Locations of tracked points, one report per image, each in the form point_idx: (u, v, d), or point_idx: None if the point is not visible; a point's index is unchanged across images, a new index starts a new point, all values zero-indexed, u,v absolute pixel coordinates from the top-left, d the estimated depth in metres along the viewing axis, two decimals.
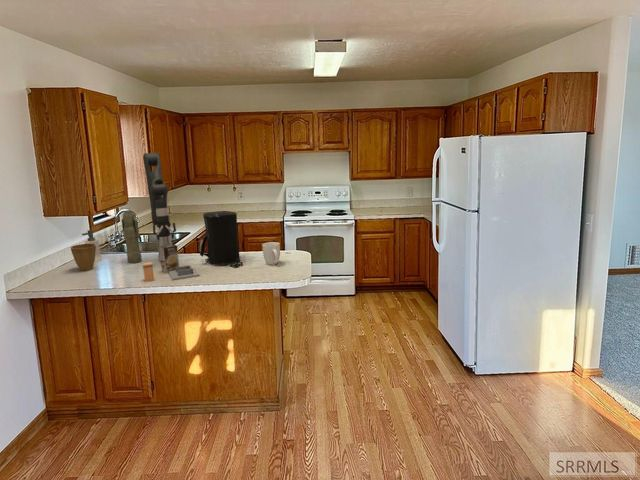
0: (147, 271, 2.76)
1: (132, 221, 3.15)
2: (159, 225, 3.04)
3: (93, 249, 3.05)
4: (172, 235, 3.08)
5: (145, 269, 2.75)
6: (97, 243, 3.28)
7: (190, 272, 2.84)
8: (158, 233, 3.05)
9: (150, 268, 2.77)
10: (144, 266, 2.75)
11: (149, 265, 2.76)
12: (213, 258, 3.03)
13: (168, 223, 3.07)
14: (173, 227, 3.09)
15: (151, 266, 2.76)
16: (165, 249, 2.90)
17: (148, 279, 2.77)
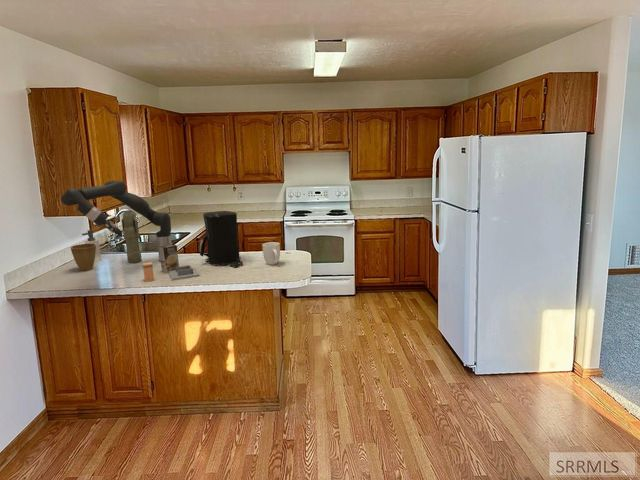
0: (147, 271, 2.76)
1: (132, 221, 3.15)
2: None
3: (93, 249, 3.05)
4: None
5: (145, 269, 2.75)
6: (97, 243, 3.28)
7: (190, 272, 2.84)
8: None
9: (150, 268, 2.77)
10: (144, 266, 2.75)
11: (149, 265, 2.76)
12: (213, 258, 3.03)
13: (104, 224, 2.61)
14: None
15: (151, 266, 2.76)
16: (165, 249, 2.90)
17: (148, 279, 2.77)
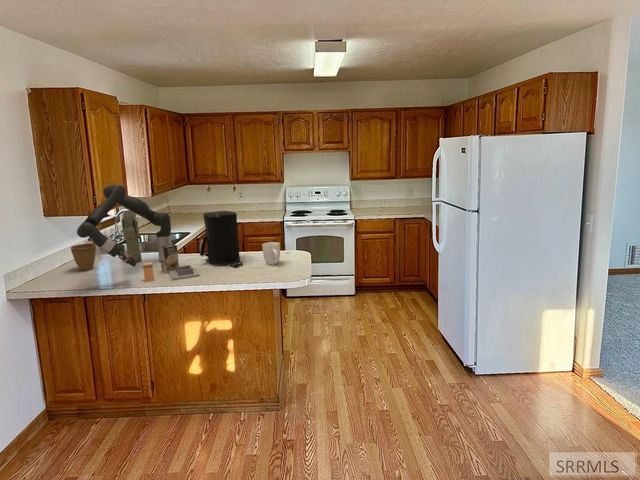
0: (147, 271, 2.76)
1: (132, 221, 3.15)
2: None
3: (93, 249, 3.05)
4: (130, 264, 2.70)
5: (145, 269, 2.75)
6: None
7: (190, 272, 2.84)
8: None
9: (150, 268, 2.77)
10: (144, 266, 2.75)
11: (149, 265, 2.76)
12: (213, 258, 3.03)
13: (118, 255, 2.68)
14: (124, 258, 2.67)
15: (151, 266, 2.76)
16: (165, 249, 2.90)
17: (148, 279, 2.77)
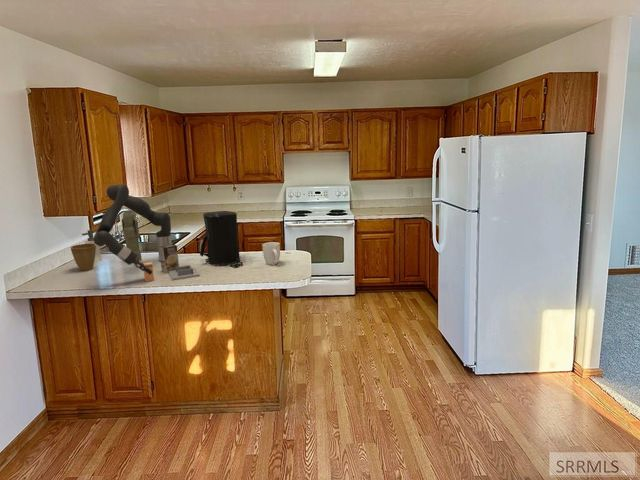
0: None
1: (132, 221, 3.15)
2: None
3: (93, 249, 3.05)
4: None
5: None
6: None
7: (190, 272, 2.84)
8: None
9: (150, 268, 2.77)
10: None
11: (149, 265, 2.76)
12: (213, 258, 3.03)
13: (134, 263, 2.72)
14: None
15: (151, 266, 2.76)
16: (165, 249, 2.90)
17: (148, 279, 2.77)
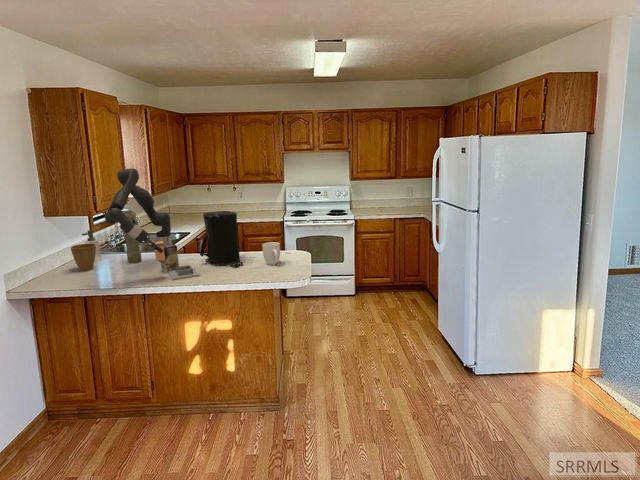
0: None
1: (132, 221, 3.15)
2: None
3: (93, 249, 3.05)
4: (158, 251, 2.76)
5: None
6: (97, 243, 3.28)
7: (190, 272, 2.84)
8: (153, 246, 2.80)
9: (161, 247, 2.77)
10: None
11: (160, 244, 2.76)
12: (213, 258, 3.03)
13: (145, 242, 2.72)
14: None
15: (162, 245, 2.77)
16: (165, 249, 2.90)
17: (159, 258, 2.77)
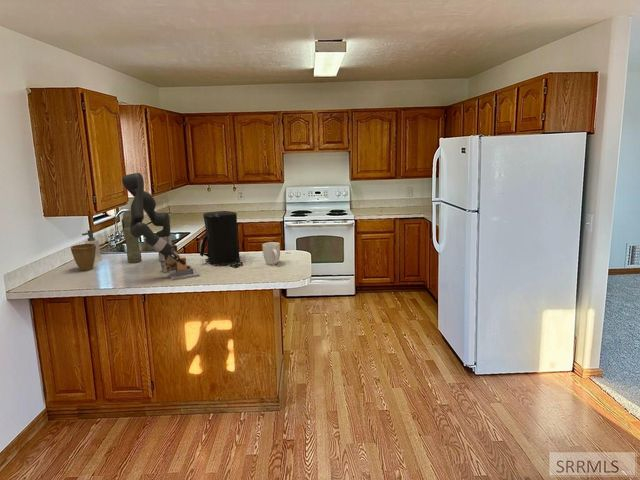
0: (181, 265, 2.83)
1: None
2: None
3: (93, 249, 3.05)
4: None
5: (179, 263, 2.82)
6: (97, 243, 3.28)
7: (190, 272, 2.84)
8: None
9: None
10: None
11: (183, 259, 2.83)
12: (213, 258, 3.03)
13: (169, 254, 2.79)
14: None
15: (185, 260, 2.83)
16: None
17: None
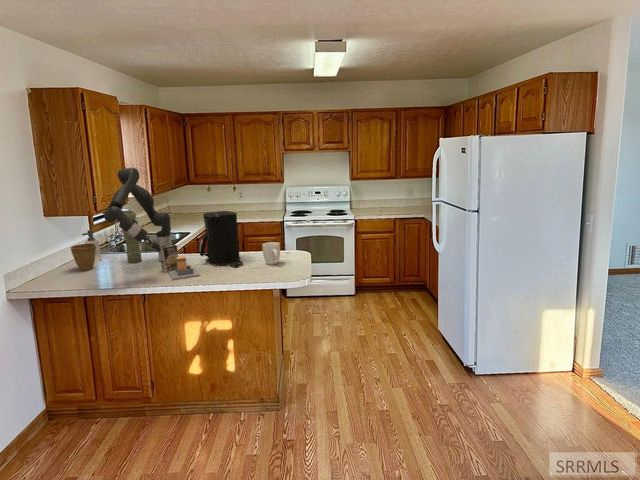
0: (181, 265, 2.83)
1: None
2: None
3: (93, 249, 3.05)
4: None
5: (179, 263, 2.82)
6: (97, 243, 3.28)
7: (190, 272, 2.84)
8: (151, 244, 2.81)
9: (184, 261, 2.84)
10: (178, 260, 2.82)
11: (183, 259, 2.83)
12: (213, 258, 3.03)
13: (144, 240, 2.72)
14: None
15: (185, 260, 2.83)
16: (165, 249, 2.90)
17: None
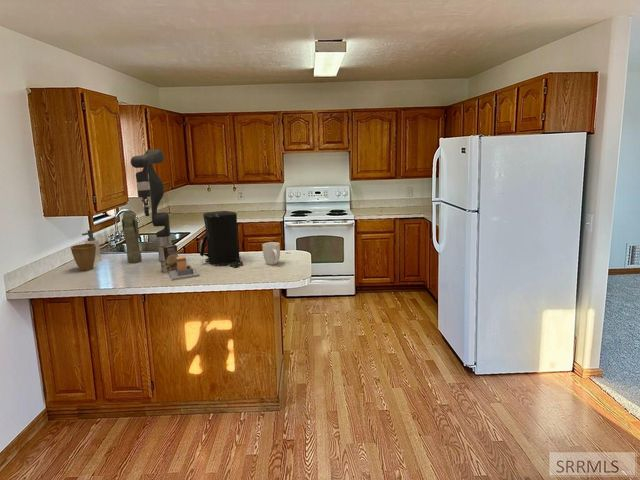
0: (181, 265, 2.83)
1: (132, 221, 3.15)
2: None
3: (93, 249, 3.05)
4: (145, 212, 2.85)
5: (179, 263, 2.82)
6: (97, 243, 3.28)
7: (190, 272, 2.84)
8: (143, 207, 2.92)
9: (184, 261, 2.84)
10: (178, 260, 2.82)
11: (183, 259, 2.83)
12: (213, 258, 3.03)
13: (143, 199, 2.84)
14: (146, 204, 2.83)
15: (185, 260, 2.83)
16: (165, 249, 2.90)
17: None
